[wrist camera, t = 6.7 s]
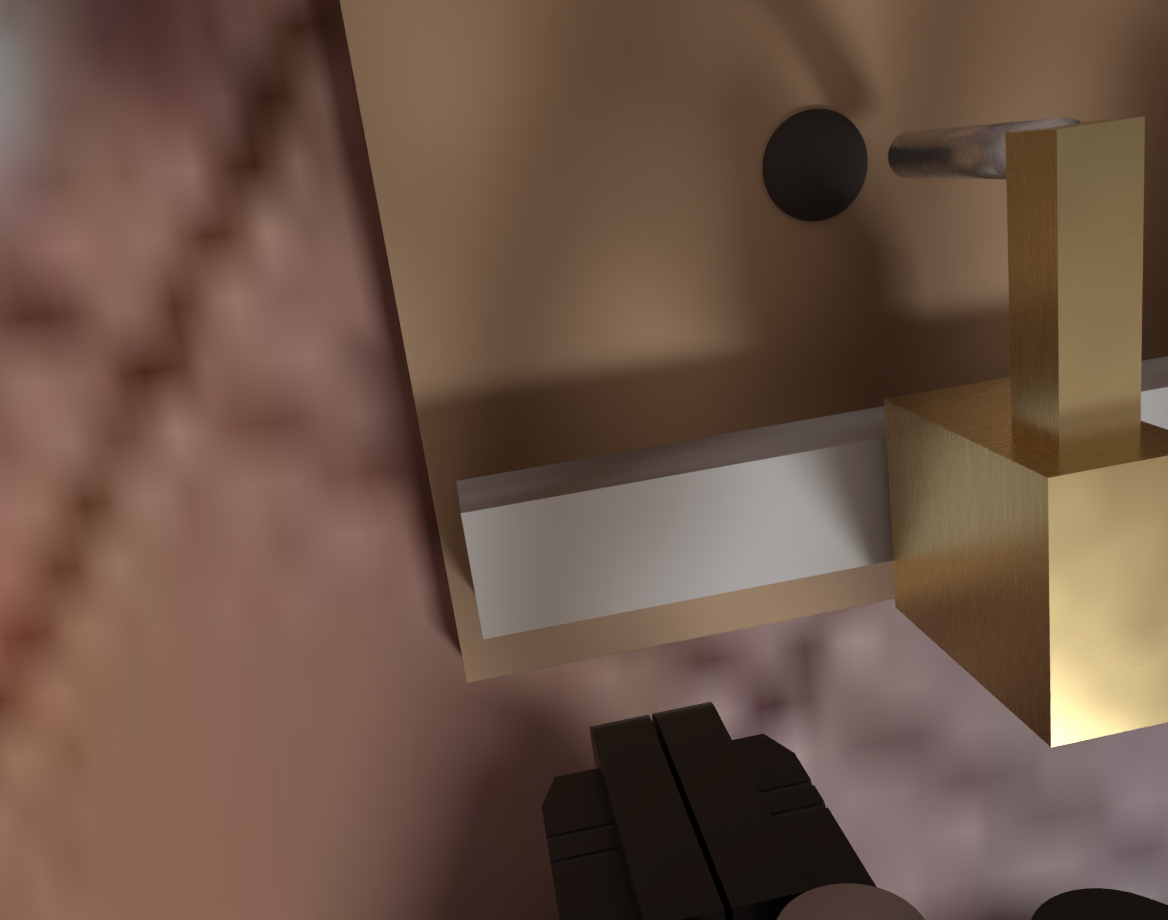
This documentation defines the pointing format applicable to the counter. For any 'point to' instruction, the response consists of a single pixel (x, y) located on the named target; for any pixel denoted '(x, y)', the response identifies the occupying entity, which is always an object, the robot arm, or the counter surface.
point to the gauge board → (704, 283)
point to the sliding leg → (1044, 446)
